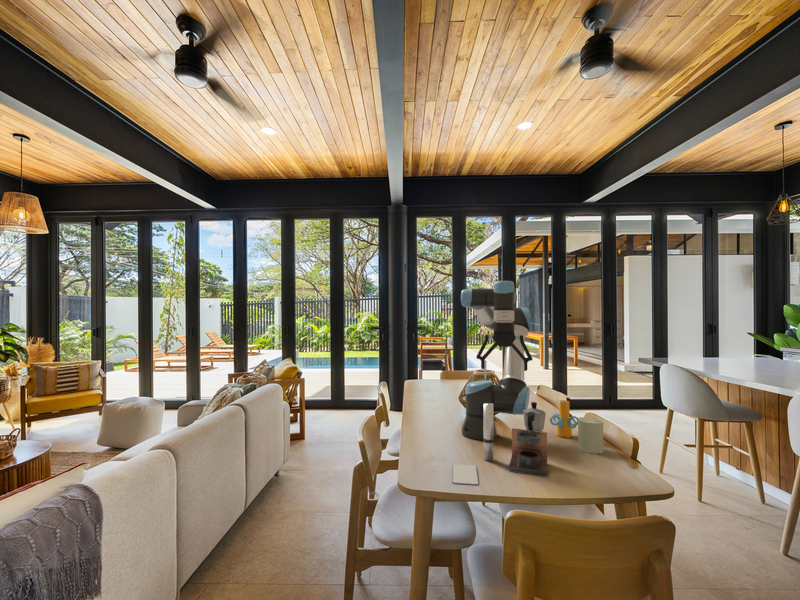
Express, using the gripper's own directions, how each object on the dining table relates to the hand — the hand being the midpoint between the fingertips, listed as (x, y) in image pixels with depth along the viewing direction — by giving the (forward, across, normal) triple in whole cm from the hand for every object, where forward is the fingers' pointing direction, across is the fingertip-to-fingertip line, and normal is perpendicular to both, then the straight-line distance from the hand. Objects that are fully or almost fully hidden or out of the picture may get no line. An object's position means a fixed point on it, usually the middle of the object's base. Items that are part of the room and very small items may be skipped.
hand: (503, 378), depth 145 cm
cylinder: (+29, +27, +33) cm, 51 cm away
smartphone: (+29, -13, -20) cm, 38 cm away
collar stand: (+29, +8, -8) cm, 31 cm away
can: (+29, +34, +17) cm, 47 cm away
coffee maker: (+29, +12, +12) cm, 33 cm away
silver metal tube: (+29, -6, -4) cm, 30 cm away
